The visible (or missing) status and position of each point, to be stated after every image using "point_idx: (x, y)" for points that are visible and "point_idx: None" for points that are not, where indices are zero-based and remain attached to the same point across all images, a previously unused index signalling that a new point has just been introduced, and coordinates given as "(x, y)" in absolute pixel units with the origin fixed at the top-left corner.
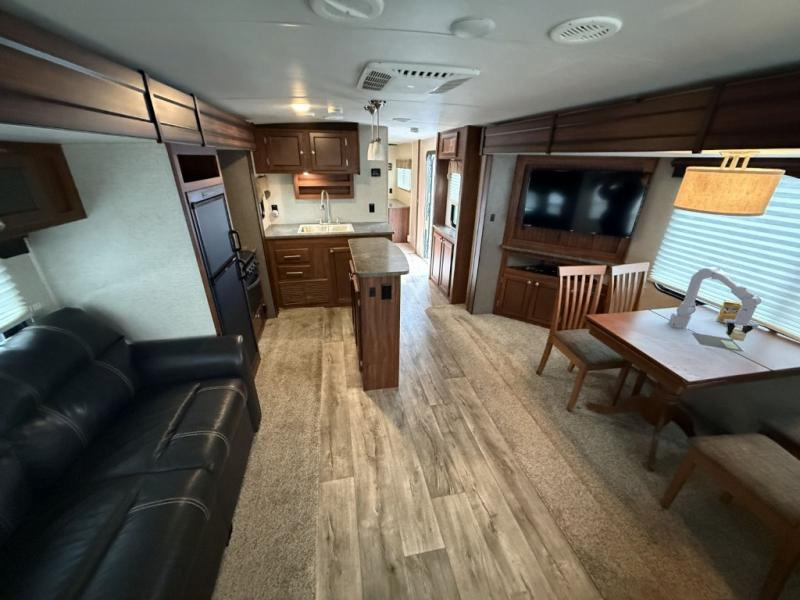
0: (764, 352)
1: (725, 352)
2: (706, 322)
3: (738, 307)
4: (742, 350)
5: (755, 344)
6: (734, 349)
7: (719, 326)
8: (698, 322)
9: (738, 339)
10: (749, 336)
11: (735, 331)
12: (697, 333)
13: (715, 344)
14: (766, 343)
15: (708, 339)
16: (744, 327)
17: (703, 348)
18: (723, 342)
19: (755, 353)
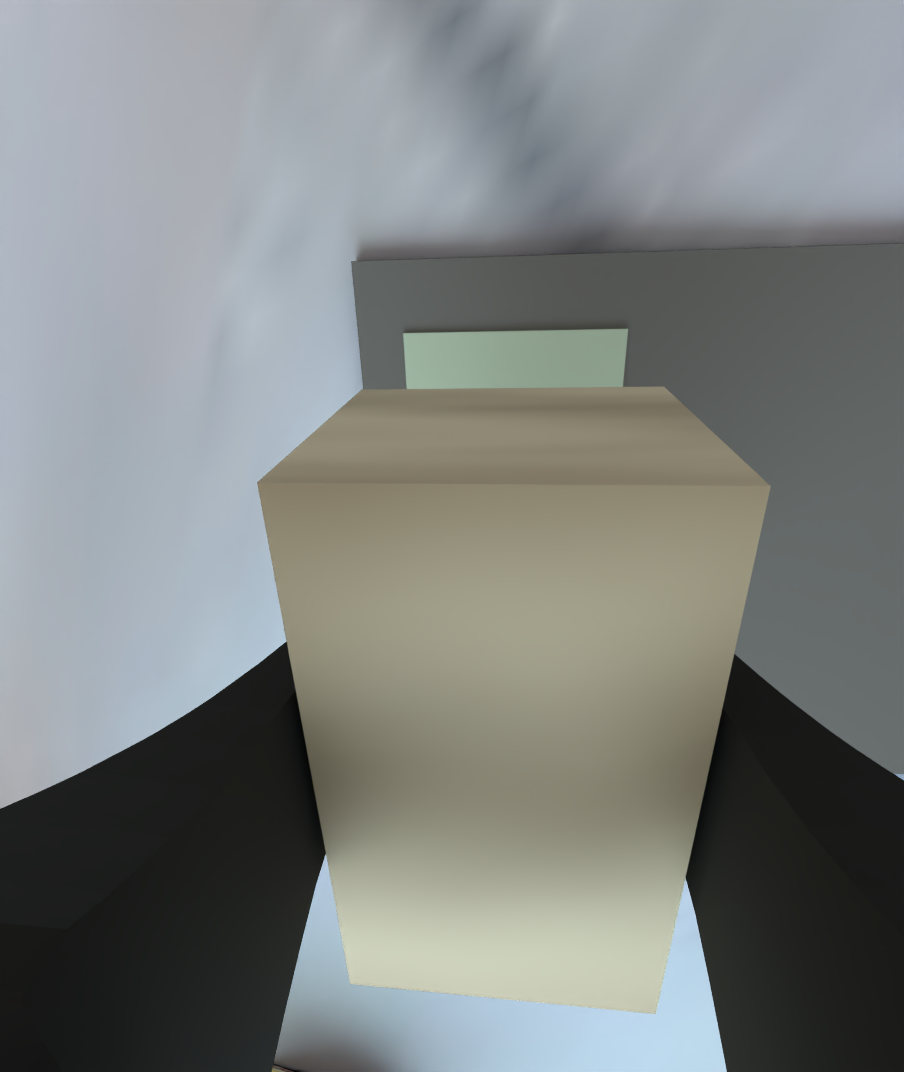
0: (26, 446)
1: (785, 9)
2: (532, 1065)
3: None
4: (358, 325)
5: (120, 689)
6: (505, 299)
7: (421, 1015)
8: (633, 1054)
9: (494, 395)
10: None
11: (616, 704)
12: (893, 772)
13: (820, 399)
14: (2, 762)
15: (829, 598)
16: (233, 1029)
17: None
18: None
19: (156, 322)
